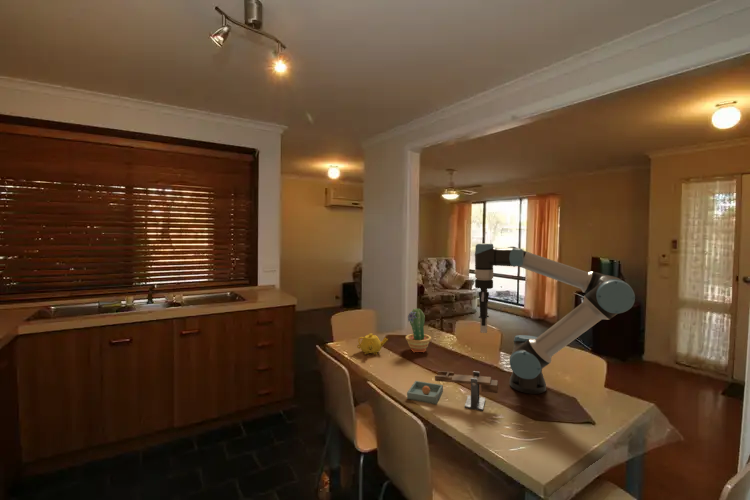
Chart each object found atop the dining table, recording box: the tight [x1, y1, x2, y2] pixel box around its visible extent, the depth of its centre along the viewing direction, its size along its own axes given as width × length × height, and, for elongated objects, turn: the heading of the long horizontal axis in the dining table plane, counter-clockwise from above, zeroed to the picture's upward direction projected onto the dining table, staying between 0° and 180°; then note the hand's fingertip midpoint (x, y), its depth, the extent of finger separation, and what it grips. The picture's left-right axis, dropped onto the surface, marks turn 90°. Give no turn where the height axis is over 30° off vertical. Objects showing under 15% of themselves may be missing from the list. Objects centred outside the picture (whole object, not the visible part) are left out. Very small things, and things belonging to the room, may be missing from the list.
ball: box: [422, 386, 430, 394], centre depth 150 cm, size 4×4×4 cm
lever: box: [434, 370, 499, 394], centre depth 143 cm, size 24×6×5 cm, turn 67°
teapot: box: [356, 333, 389, 356], centre depth 204 cm, size 14×14×11 cm
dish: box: [406, 380, 444, 405], centre depth 150 cm, size 13×13×3 cm
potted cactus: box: [405, 308, 432, 353], centre depth 207 cm, size 15×15×25 cm
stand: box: [464, 370, 486, 412], centre depth 142 cm, size 7×10×12 cm
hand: (483, 332), depth 152 cm, fingers closed
